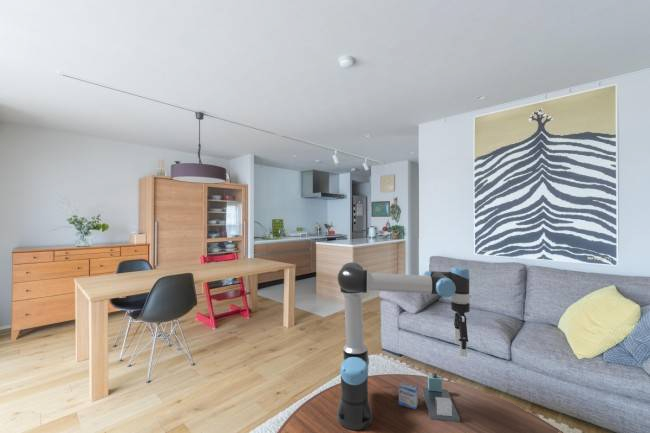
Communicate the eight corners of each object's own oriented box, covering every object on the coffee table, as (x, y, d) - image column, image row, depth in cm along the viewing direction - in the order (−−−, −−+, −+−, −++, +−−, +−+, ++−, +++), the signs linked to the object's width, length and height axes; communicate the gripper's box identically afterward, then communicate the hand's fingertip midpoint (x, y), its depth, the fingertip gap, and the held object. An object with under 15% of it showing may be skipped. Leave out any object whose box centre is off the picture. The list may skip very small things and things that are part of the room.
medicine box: (398, 405, 133) (398, 386, 133) (400, 399, 137) (400, 381, 137) (416, 410, 130) (416, 390, 130) (418, 404, 134) (417, 385, 134)
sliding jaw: (429, 390, 141) (428, 374, 142) (427, 387, 144) (427, 371, 145) (441, 391, 140) (441, 375, 141) (440, 388, 143) (440, 372, 144)
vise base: (430, 418, 124) (429, 401, 124) (421, 390, 144) (421, 375, 145) (459, 421, 122) (459, 403, 122) (447, 392, 142) (446, 377, 143)
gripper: (475, 310, 118) (476, 363, 117) (464, 295, 142) (464, 339, 141) (455, 309, 120) (456, 360, 119) (447, 294, 144) (448, 337, 143)
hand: (460, 349), depth 130 cm, fingers open, 13 cm apart
